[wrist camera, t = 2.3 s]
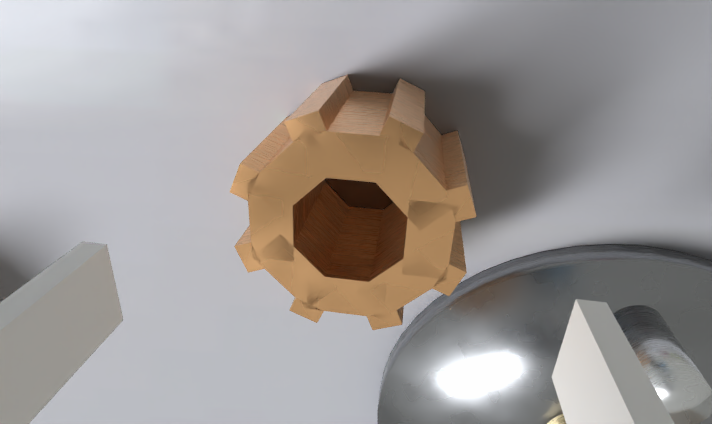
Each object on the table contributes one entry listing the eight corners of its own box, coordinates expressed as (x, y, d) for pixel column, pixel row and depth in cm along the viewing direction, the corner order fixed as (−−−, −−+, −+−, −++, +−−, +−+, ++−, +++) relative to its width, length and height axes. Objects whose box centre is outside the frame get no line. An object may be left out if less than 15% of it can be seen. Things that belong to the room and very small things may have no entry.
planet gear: (276, 69, 20) (221, 103, 15) (475, 83, 19) (493, 124, 14) (281, 238, 24) (240, 312, 19) (448, 257, 23) (454, 340, 18)
